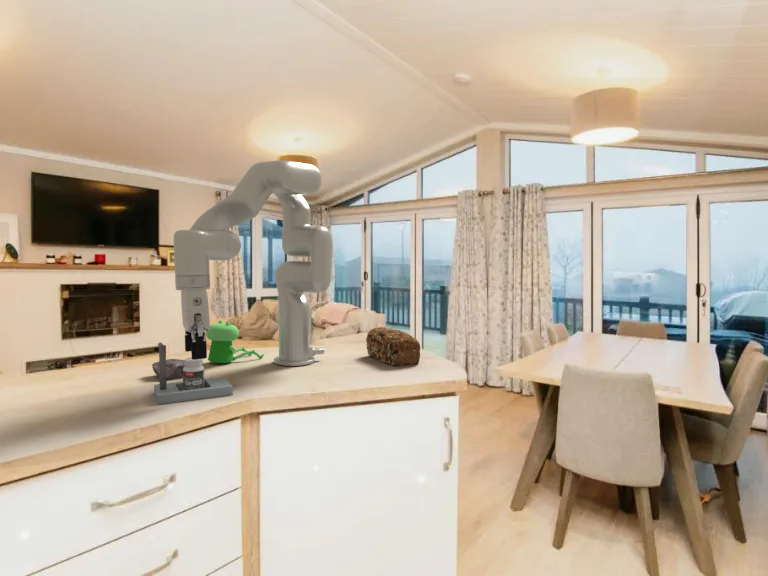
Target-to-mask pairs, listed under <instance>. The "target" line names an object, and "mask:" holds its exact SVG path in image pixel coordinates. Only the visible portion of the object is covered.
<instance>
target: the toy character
mask: <svg viewBox="0 0 768 576" xmlns="http://www.w3.org/2000/svg"><path fill="white" fill-rule="evenodd" d="M239 336H240V330H239V328H238V327H237V326H236V325H234V324H231V322H230V321H227V322H225V323H224V321H223V320H222V319H219V320H218V323H213V324H210V330H209V331H206V330H205V337H207V339H208V340H210V341H211V342H210V347H209V353H208V356H207V361H209V362H211V363H213V364H222V365H223V364H228V363H231V362H234V361H236V360H237V359H240V358H242V357H244V356H247V355H248V356H249V357H251V356H252V355H255V356H256V357H257V358H259V360H262V359H263V358H264V356H265V354H260V353H258V352H257V351H256V350H254V349H252V350H247V349H245V348H244V347H242V346H241V347H239V348H236V347H235V346H233V341H235V340H237V339H238V338H239ZM238 352H242V353H239V354H237V355H235V354H236V353H238ZM234 355H235V356H234Z"/></svg>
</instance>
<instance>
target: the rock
mask: <svg viewBox="0 0 768 576" xmlns="http://www.w3.org/2000/svg"><path fill="white" fill-rule="evenodd" d="M151 367H152V371H153V373H154V374H155V375H156V376H157V377H159V361H156V362H153V363H152V364H151ZM184 367H186V366H185V359H177V358H168V359H166V380H171V379H173V378H174V379H181V378H183V368H184ZM180 377H181V378H180Z"/></svg>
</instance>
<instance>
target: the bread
mask: <svg viewBox="0 0 768 576" xmlns="http://www.w3.org/2000/svg"><path fill="white" fill-rule="evenodd" d="M365 341H366V350H367V355H368V356H369V357H370V356H371V357H372V358H373V357H374V358H376V359H375V360H377V359H378V360H377V361H379V360H381V361H383V362H386V363H385V364H388V363H389V364H388V365H390V364H391V365H390V366H392V365H397V366H398V365H403V366H404V365H408V364H412V365H416V364H415V363H418V364H419V363H420V358H421V344H420V342H419V340H418V339H417V338H416V337H413V336H412V335H411V334H409V333H407V332H405V331H402V330H400V329H393V328H388V327H386V326H384V327H382V326H380V327H374V328H372V329H370V330H369V331H368V332H367V336H366V338H365ZM374 358H373V359H374ZM381 361H380V362H381ZM383 362H382V363H383Z"/></svg>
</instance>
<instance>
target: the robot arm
mask: <svg viewBox="0 0 768 576" xmlns="http://www.w3.org/2000/svg"><path fill="white" fill-rule="evenodd" d="M322 183H323V179H322V174H321V172H320V170H319V168H317V166H316V165H313V164H312V163H305V162H299V161H293V160H284V159H279V160H278V159H277V160H270V161H262V162H261V161H260V162H256V163H254V164H253V165H251V166H250V168H249V169H248V170H247V171H246V173H245V174H244V175H243V177H242V178H241V179H240V181H239V182H238V183H237V185H236V186H235V188H234V189H233V191H232V192H231V193H230V194H229V195H228V196H227V197H225V198H224V199H221V201H219V202H218V203H216V204H215V205H213V206H212V207H210V208H209V209H207V210H206V211H205V212H203V213H202V214H201V215H200V216H199V217H198V218H197V219H196V221H195V222H194V223H193V224H192V225H191V227H190V228H189V229H178V230H176V231H175V232H174V234H173V258H174V261H173V262H174V277H175V278H174V280H175V281H174V282H175V291H180V292H181V293H180V300H181V301H180V302H181V316H182V317H181V318H182V319H181V320H182V325H183V326H182V327H183V329H184V333H185V335H184V346H185V347H184V348H185V351H186V352H191V358H192V359H193V360H196V359H203V360H204V359H208V355H207V354H208V353H207V352H208V351H207V348H208V347H207V339H206V337H207V336H206V331H209V330H210V325H211V319H210V308H209V298H208V292H207V290H210V289H211V279H210V278H211V276H210V261H229V260H232V259H234V258H235V257H237V255H239V253H240V251H241V247H242V245H241V244H242V243H241V239H240V237H239V236H238V235H237V234H236V233H235V232H233V231H231V230H229V229H230V228H233V227H235V226H238V225H241V224H244V223H246V222H248V221H250V220H253V219H254V218H256V217H257V216H258V215H259V213H260V212H261V210H262V209H263V207H264V206H265V204H266V202H267V201H268V200H269V198H270V197H271V195H272V194H274V195H275V196H276V199H277V200H278V202H279V203H280V206H281V208H282V234H281V235H282V236H281V246H282V250H283V252H284V254H286V255H287V256H289V257H299V258H301V257H302V258H303V257H305V258H310V260H308V261H306V260H288V261H285V262H283V263H281V264H280V265H278V267H277V268H276V271H275V274H274V276H275V277H274V278H275V284H276V289H277V295H278V296H277V297H278V356H276V357H274V358H273V363H274V364H275V365H279V366H283V367H299V366H307V365H311V364H313V363H315V356H316V355H324V354H325V349H324V347H320V348H318V347H312V346H310V345H311V343H310V342H311V341H310V340H311V337H310V335H311V332H310V331H311V330H310V329H311V327H310V325H311V322H310V320H311V319H310V318H311V317H310V316H311V314H310V313H311V305H310V302H309V300H308V297H307V295H306V293H311V294H316V293H318V294H321V293H325V292H326V291H327V290H329V287H330V285H331V280H332V273H333V272H332V271H333V270H332V267H333V246H334V245H333V244H334V243H333V238H332V235H331V232H330V230H329V229H328V228H326V227H325V226H323V225H311V224H312V222H311V221H312V215H311V212H312V211H311V207H310V205H309V203H308V201H307V200H306V199H305V198H304V196H303V195H312V194H315V193H317V192H318V191H319V190H320V188H321V186H322Z"/></svg>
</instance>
